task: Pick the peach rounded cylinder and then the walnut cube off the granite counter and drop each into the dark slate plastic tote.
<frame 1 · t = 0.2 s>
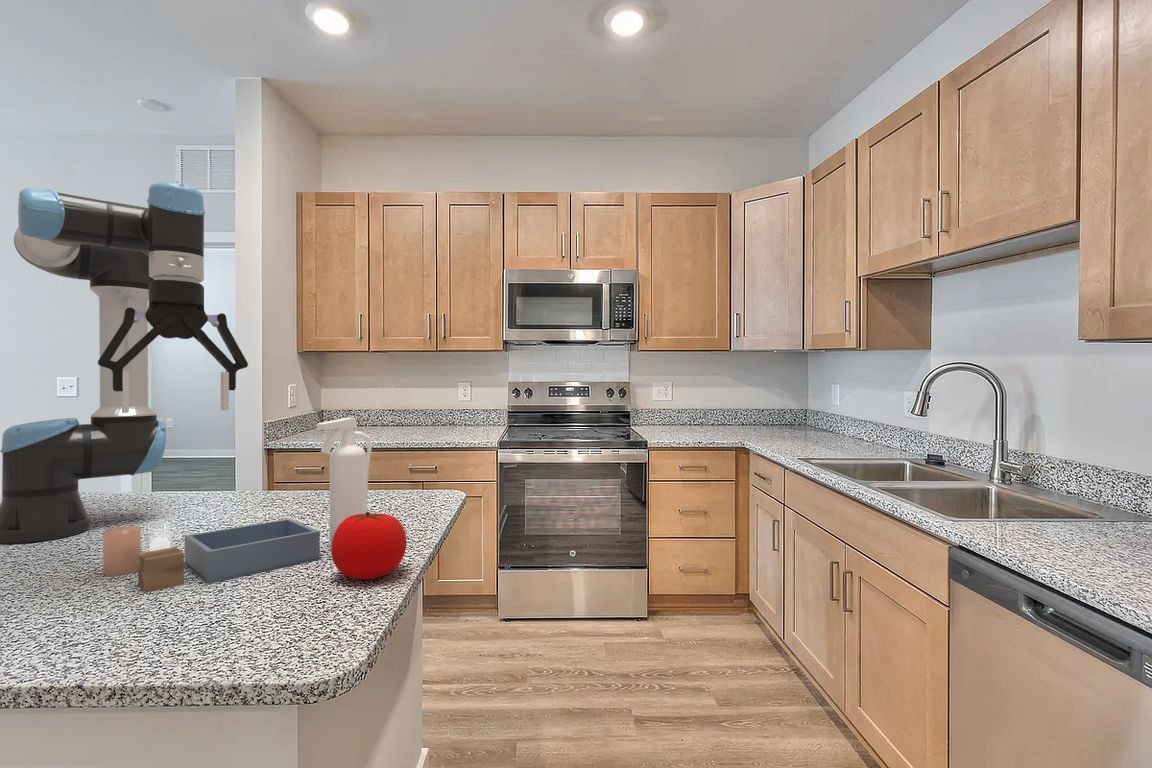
hand: (177, 411, 97), 27 cm above the counter, fingers open, 13 cm apart
tomato: (369, 576, 98), on the counter
tote: (253, 561, 105), on the counter
walnut cube: (161, 585, 93), on the counter
peach rounded cylinder: (122, 571, 99), on the counter
white spray bottle: (351, 548, 113), on the counter
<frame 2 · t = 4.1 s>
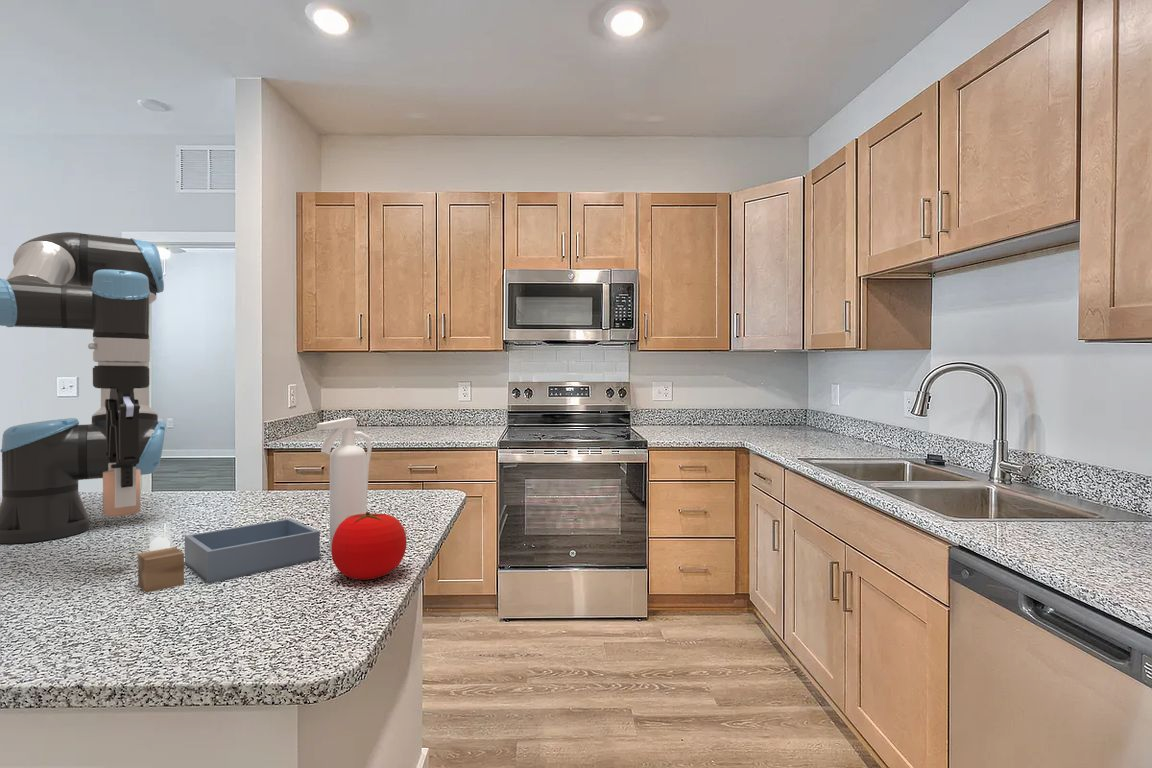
hand: (122, 502, 99), 11 cm above the counter, fingers closed on peach rounded cylinder, 5 cm apart
peach rounded cylinder: (122, 512, 99), point 10 cm above the counter, touching gripper
everything else where it was.
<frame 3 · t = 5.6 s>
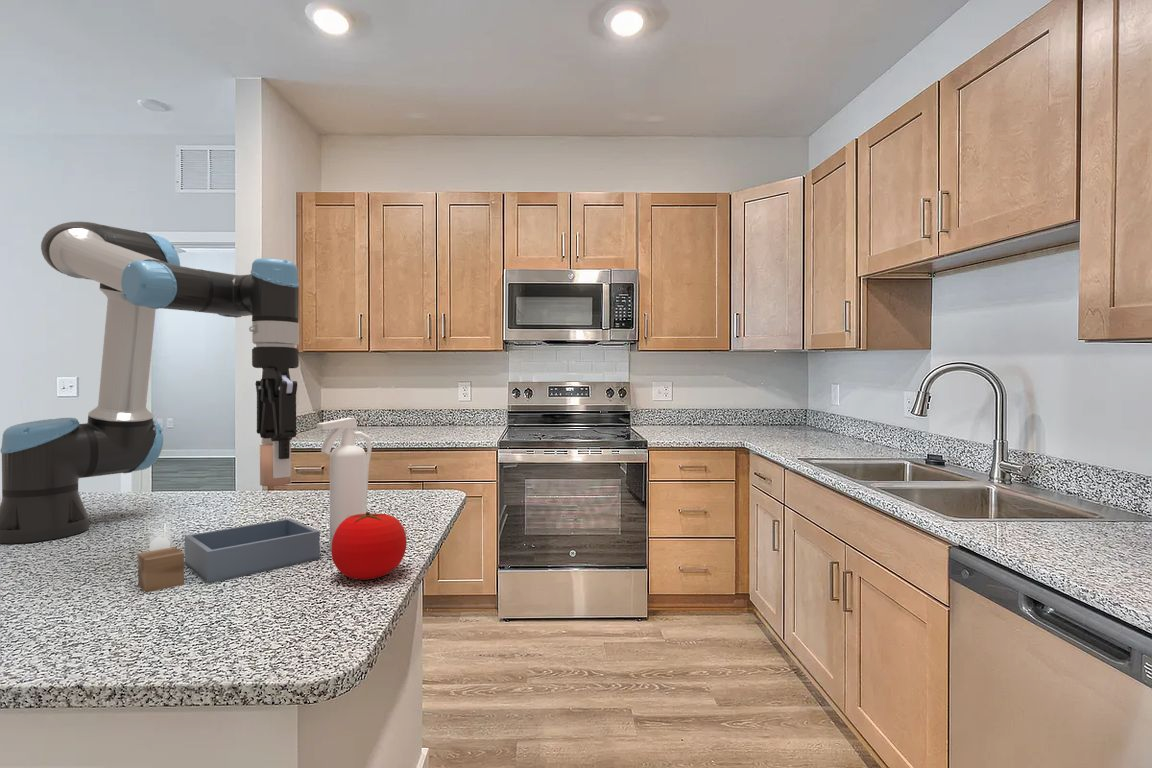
hand: (276, 475, 107), 15 cm above the counter, fingers closed on peach rounded cylinder, 5 cm apart
peach rounded cylinder: (275, 483, 107), point 13 cm above the counter, touching gripper
everything else where it was.
when the fingers open (5 cm above the counter, at t = 7.4 s): peach rounded cylinder drops 3 cm, resting on tote.
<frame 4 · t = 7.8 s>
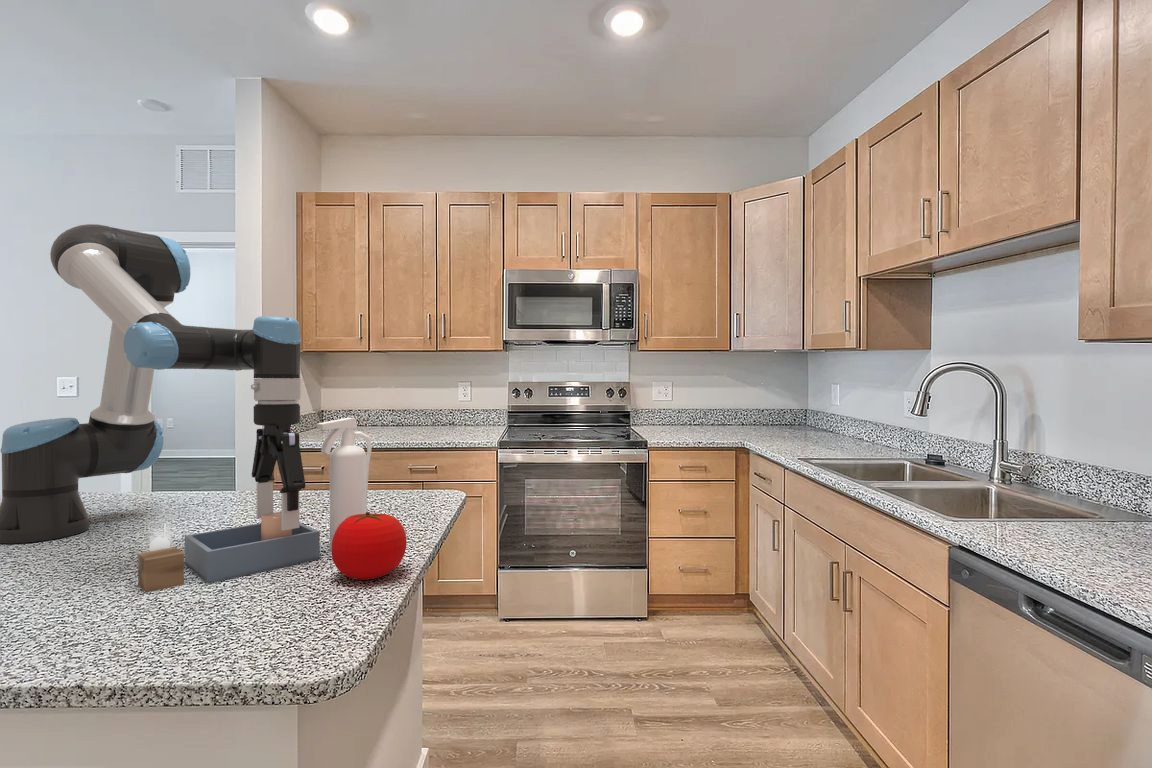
hand: (277, 522, 107), 6 cm above the counter, fingers open, 11 cm apart
peach rounded cylinder: (276, 553, 107), point 1 cm above the counter, touching tote
everything else where it was.
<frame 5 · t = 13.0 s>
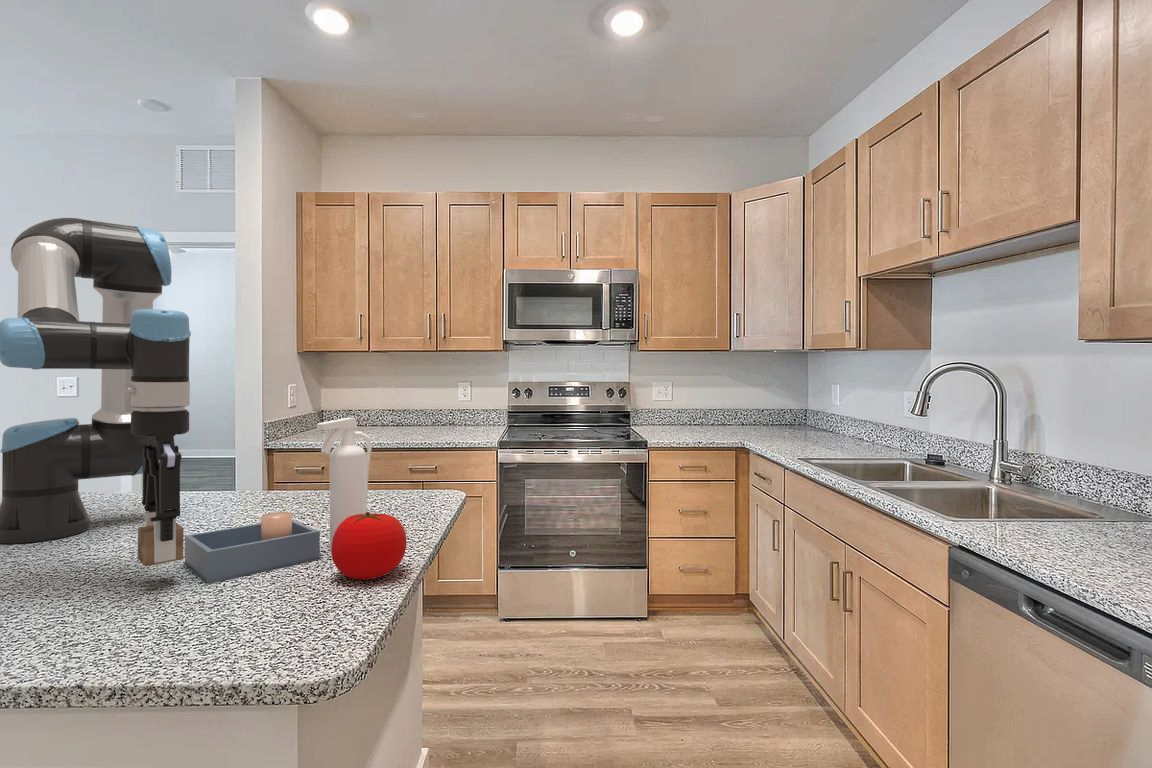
hand: (160, 555, 93), 4 cm above the counter, fingers closed on walnut cube, 5 cm apart
walnut cube: (160, 559, 93), point 4 cm above the counter, touching gripper
everything else where it was.
when the fingers open (5 cm above the counter, at t = 15.9 s): walnut cube drops 4 cm, resting on tote.
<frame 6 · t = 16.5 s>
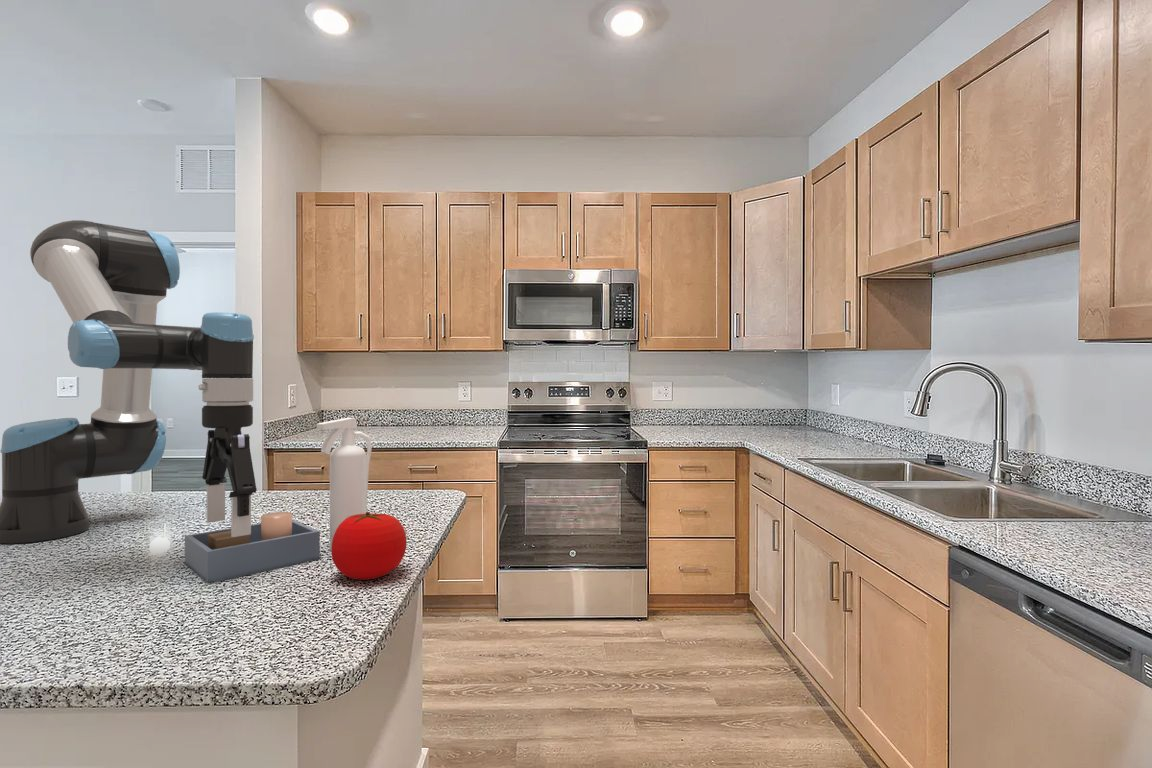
hand: (228, 528, 102), 7 cm above the counter, fingers open, 13 cm apart
walnut cube: (228, 563, 102), point 1 cm above the counter, touching tote
everything else where it was.
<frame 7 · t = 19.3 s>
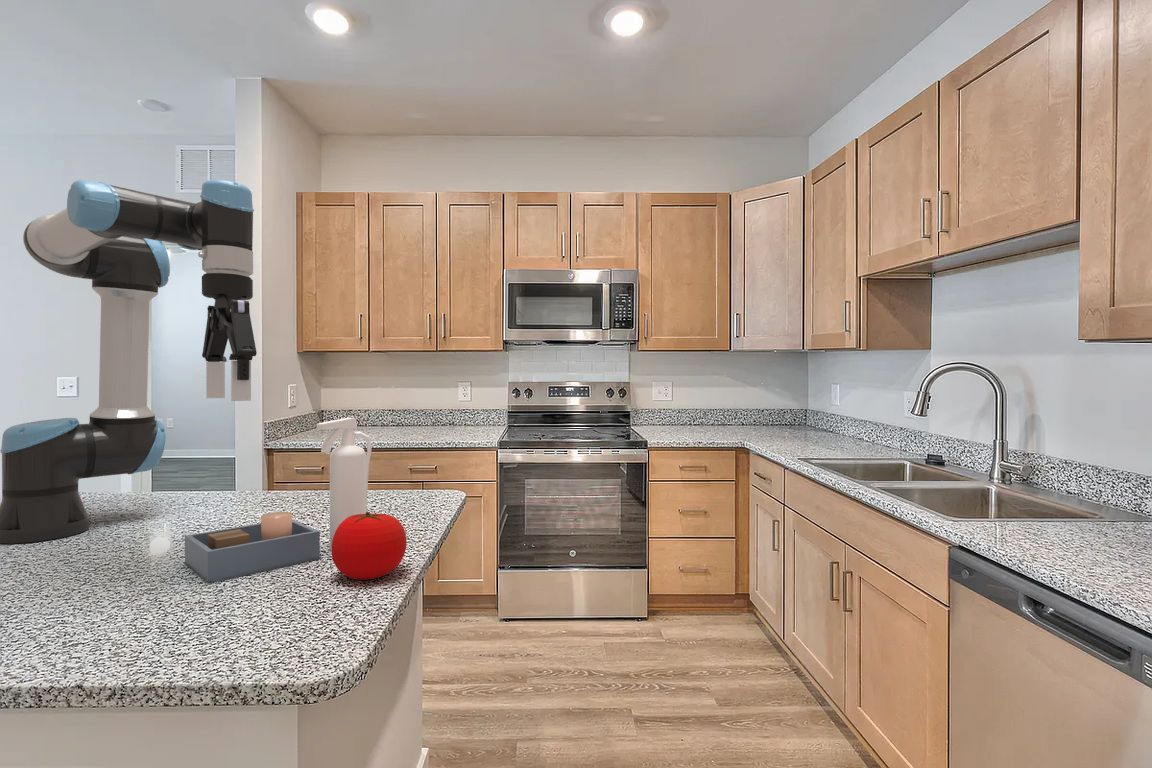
hand: (227, 399, 101), 29 cm above the counter, fingers open, 13 cm apart
nothing on the counter moved.
at the end: peach rounded cylinder inside the target area on the tote (3.9 cm from its centre), point 0.6 cm above the tote's base; walnut cube inside the target area on the tote (4.0 cm from its centre), point 0.6 cm above the tote's base; the gripper is holding nothing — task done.
